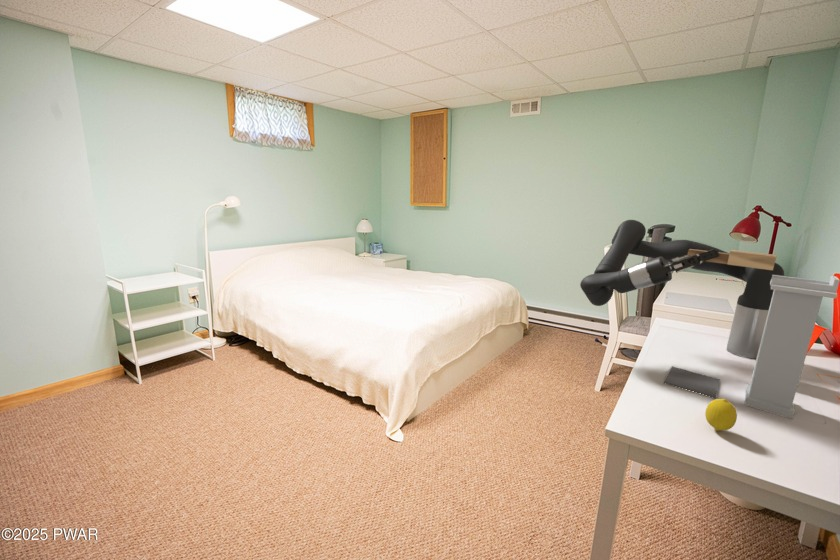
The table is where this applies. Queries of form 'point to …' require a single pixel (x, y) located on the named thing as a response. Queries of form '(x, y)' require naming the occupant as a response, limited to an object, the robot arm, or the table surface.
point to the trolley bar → (742, 259)
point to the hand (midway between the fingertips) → (718, 252)
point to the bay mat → (692, 381)
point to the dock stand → (786, 342)
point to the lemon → (721, 414)
